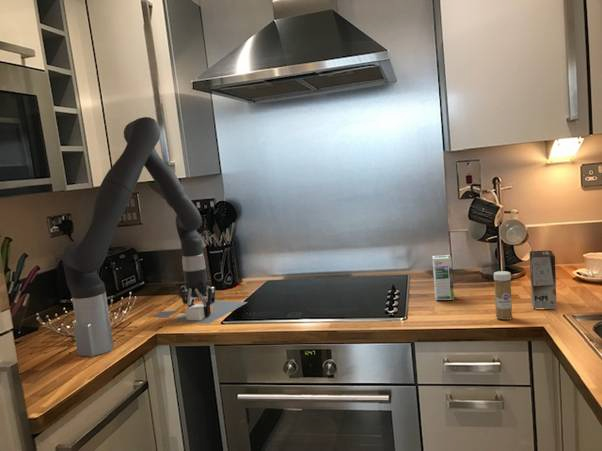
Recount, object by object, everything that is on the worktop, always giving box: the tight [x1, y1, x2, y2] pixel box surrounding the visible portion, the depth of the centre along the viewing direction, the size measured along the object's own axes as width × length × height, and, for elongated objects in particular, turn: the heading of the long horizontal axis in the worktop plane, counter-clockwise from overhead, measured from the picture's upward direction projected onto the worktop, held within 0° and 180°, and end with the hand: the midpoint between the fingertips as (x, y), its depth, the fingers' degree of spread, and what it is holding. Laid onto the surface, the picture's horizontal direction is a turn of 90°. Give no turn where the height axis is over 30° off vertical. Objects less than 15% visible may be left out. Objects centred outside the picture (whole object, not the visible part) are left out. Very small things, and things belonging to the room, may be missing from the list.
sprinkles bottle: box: [493, 270, 513, 320], centre depth 145 cm, size 5×5×13 cm
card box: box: [184, 301, 214, 320], centre depth 174 cm, size 8×6×4 cm
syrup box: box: [431, 254, 455, 301], centre depth 169 cm, size 6×6×14 cm
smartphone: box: [152, 310, 177, 319], centre depth 178 cm, size 7×1×15 cm
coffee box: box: [529, 250, 557, 310], centre depth 152 cm, size 9×6×16 cm
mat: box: [171, 300, 248, 325], centre depth 180 cm, size 24×16×1 cm, turn 154°
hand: (200, 315), depth 174 cm, fingers closed on card box, 5 cm apart
